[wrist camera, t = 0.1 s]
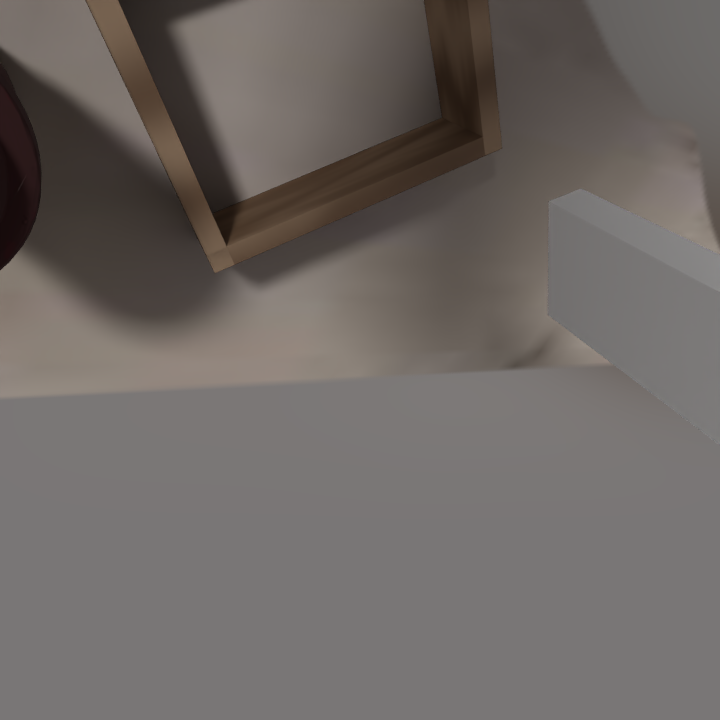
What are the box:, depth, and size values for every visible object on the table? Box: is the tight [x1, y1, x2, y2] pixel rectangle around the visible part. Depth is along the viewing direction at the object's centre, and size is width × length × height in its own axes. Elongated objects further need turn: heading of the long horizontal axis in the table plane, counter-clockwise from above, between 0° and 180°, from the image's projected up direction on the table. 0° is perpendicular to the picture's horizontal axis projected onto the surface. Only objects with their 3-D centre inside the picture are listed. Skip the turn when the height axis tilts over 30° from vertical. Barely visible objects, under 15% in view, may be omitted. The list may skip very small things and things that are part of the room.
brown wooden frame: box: [85, 0, 502, 273], centre depth 32 cm, size 20×19×5 cm
